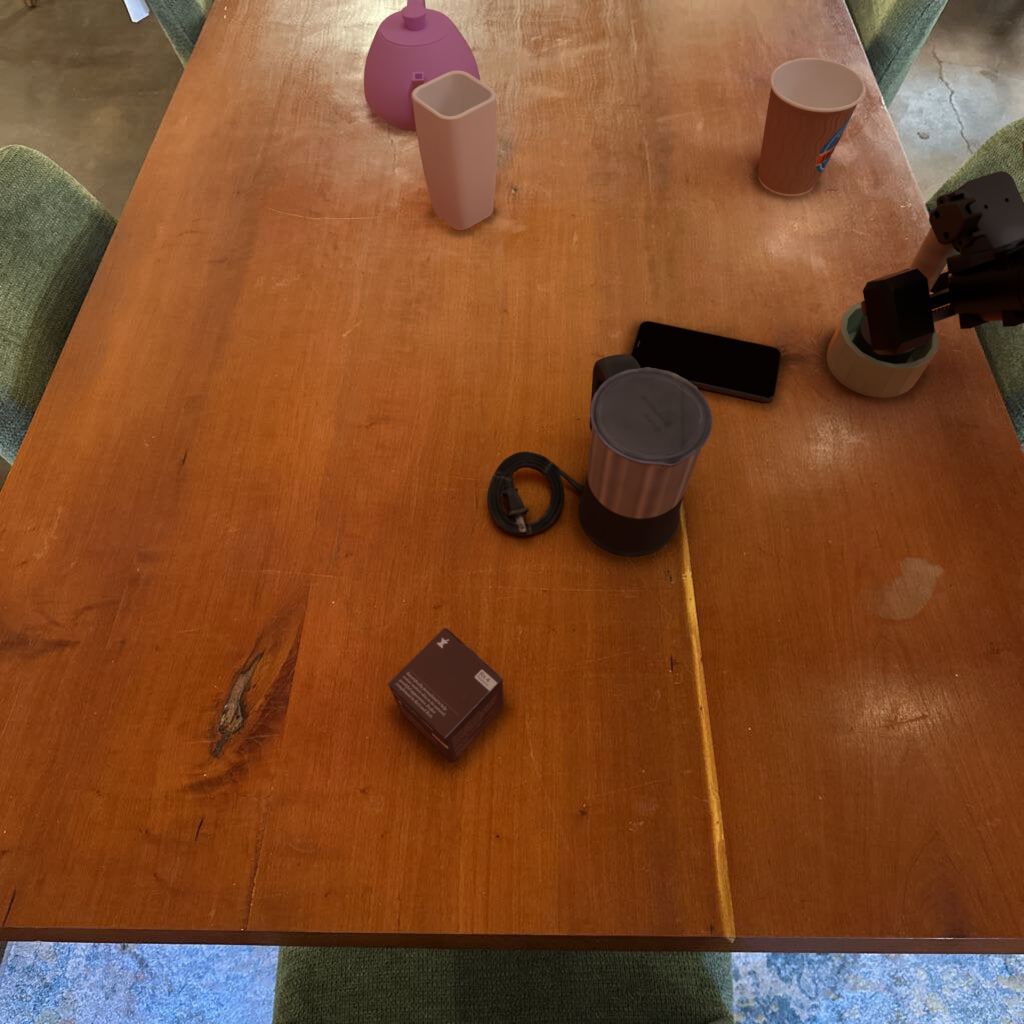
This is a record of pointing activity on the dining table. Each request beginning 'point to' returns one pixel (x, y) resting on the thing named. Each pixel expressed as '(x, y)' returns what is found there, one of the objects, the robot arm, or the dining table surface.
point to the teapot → (411, 60)
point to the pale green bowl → (873, 362)
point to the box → (448, 694)
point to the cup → (458, 146)
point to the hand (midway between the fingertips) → (895, 295)
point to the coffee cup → (805, 121)
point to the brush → (931, 265)
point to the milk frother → (621, 460)
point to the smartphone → (709, 360)
